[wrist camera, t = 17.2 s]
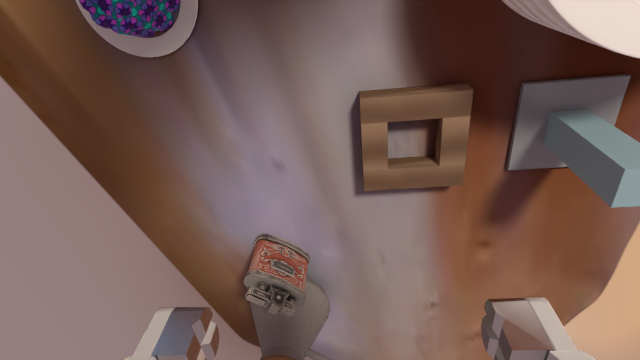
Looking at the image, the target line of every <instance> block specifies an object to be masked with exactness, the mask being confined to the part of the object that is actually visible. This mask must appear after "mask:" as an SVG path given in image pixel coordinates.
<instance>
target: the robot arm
mask: <svg viewBox="0 0 640 360" xmlns="http://www.w3.org/2000/svg"><path fill="white" fill-rule="evenodd" d="M484 308H485V311H486V314H487V315H486V316H485V317H484V318H482V324H481V331H482V339H483V343H484V346H485V349H486V352H487V353H488V354H489V355H490V356H491V357H492V358H493V359H494V360H596V359H595V358H593V357H592V356H591V355H589V354H588V353H587V352H585V351H582V350H577V348H576V347H575V345H574V343H573V342H572V340H571V338H570V337H569V335H568V333H567V332H566V330H565V328H564V327H563V325H562V323H561V322H560V320H559V318H558V317H557V315H556V313H555V312H554V310H553V308H552V307H551V305H550V303H549V302H548V300H547V299H545V298H505V299H488V300H487V301H486V302H485V307H484ZM211 318H212V312H211V310H210V308H207V307H202V308H201V307H198V308H197V307H190V308H189V307H176V308H175V307H173V308H159V309H158V310H157V312H155V314H154V316H153V318H152V320H151V322H150V324H149V325H148V327H147V329H146V331H145V333H144V335H143V337H142V339H141V341H140V343H139V345H138V347H137V349H136V350H135V352H134V354H133V356H132V357H127V358H125V359H124V360H212V359H213V358H214V357H215V356H216V352H217V349H218V343H219V332H218V328H217V325H216V324H215V323H214V322H212V321H211Z"/></svg>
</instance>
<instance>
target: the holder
mask: <svg viewBox="0 0 640 360" xmlns="http://www.w3.org/2000/svg"><path fill="white" fill-rule="evenodd" d="M472 99H473V89H472V88H471V87H470V86H469V85H468V84H467V83H455V84H443V85H431V86H419V87H407V88H395V89H383V90H371V91H359V103H360V123H361V144H362V164H363V182H364V191H373V190H390V189H407V188H425V187H442V186H460V185H463V177H464V169H465V160H466V151H467V143H468V134H469V125H470V116H471V108H472ZM424 119H437V131H436V146H435V156H423V157H408V158H393V159H388V134H387V122H398V121H411V120H424Z"/></svg>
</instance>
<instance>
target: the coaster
mask: <svg viewBox="0 0 640 360" xmlns="http://www.w3.org/2000/svg"><path fill="white" fill-rule="evenodd" d="M630 77H631V76H630V75H628V74H622V75H610V76H598V77H586V78H573V79H561V80H549V81H537V82H525V83H521V89H520V94H519V100H518V106H517V111H516V117H515V122H514V128H513V133H512V139H511V144H510V150H509V155H508V161H507V166H506V168H507V169H508V170H523V169H539V168H556V167H568V166H567V165H566V164H565V163H564V162H563V161H562V160H561V159H560V158H559V157H557V156H556V155H555V154H554V153H553V152H552V151H551V150H550V149H549V148H548V147H547V146H546V145H545V144H544V138H545V134H546V130H547V125H548V121H549V117H550V112H557V111H570V110H583V109H588V110H589V111H591V112H592V113H594V114H596V115H597V116H599V117H600V118H602V119H603V120H605V121H606V122H608V123H610V124H611V125H613V126H614V125H615V122H616V119H617V116H618V113H619V110H620V107H621V104H622V101H623V98H624V95H625V92H626V89H627V86H628V83H629V80H630Z"/></svg>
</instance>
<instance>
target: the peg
mask: <svg viewBox="0 0 640 360" xmlns="http://www.w3.org/2000/svg"><path fill="white" fill-rule="evenodd" d="M544 144H545V145H546V146H547V147H548V148H549V149H550V150H551V151H552V152H553V153H554V154H555V155H556V156H557V157H559V158H560V159H561V160H562V161H563V162H564V163H565V164H566V165H567V166H568V167H569V168H570V169H571V170H572V171H573V172H574V173H575V174H576V175H577V176H578V177H580V178H581V179H582V180H583V181H584V182H585V183H586V184H587V185H588V186H589V187H590V188H591V189H592V190H593V191H594V192H595V193H596V194H597V195H598V196H599V197H600V198H602V199H603V200H604V201H605V202H606V203H607V204H608V205H609V206H610V207H611V208H613V207H633V206H640V143H639V142H637V141H636V140H634V139H633V138H631V137H630V136H628V135H627V134H625V133H623V132H622V131H620V130H619V129H617V128H616V127H614V126H613V125H611V124H610V123H608V122H606V121H605V120H603V119H602V118H600V117H599V116H597V115H596V114H594V113H592V112H591V111H589V110H588V109H583V110H570V111H557V112H550V117H549V121H548V125H547V130H546V134H545V138H544Z"/></svg>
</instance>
